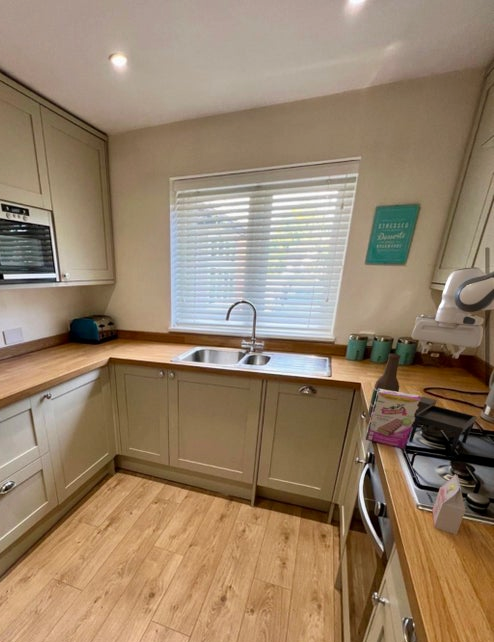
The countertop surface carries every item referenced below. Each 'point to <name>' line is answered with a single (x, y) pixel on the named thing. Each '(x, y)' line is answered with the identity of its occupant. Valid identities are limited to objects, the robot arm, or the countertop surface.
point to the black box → (425, 403)
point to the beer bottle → (387, 379)
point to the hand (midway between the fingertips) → (439, 355)
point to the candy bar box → (392, 418)
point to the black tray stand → (445, 422)
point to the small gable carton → (449, 506)
